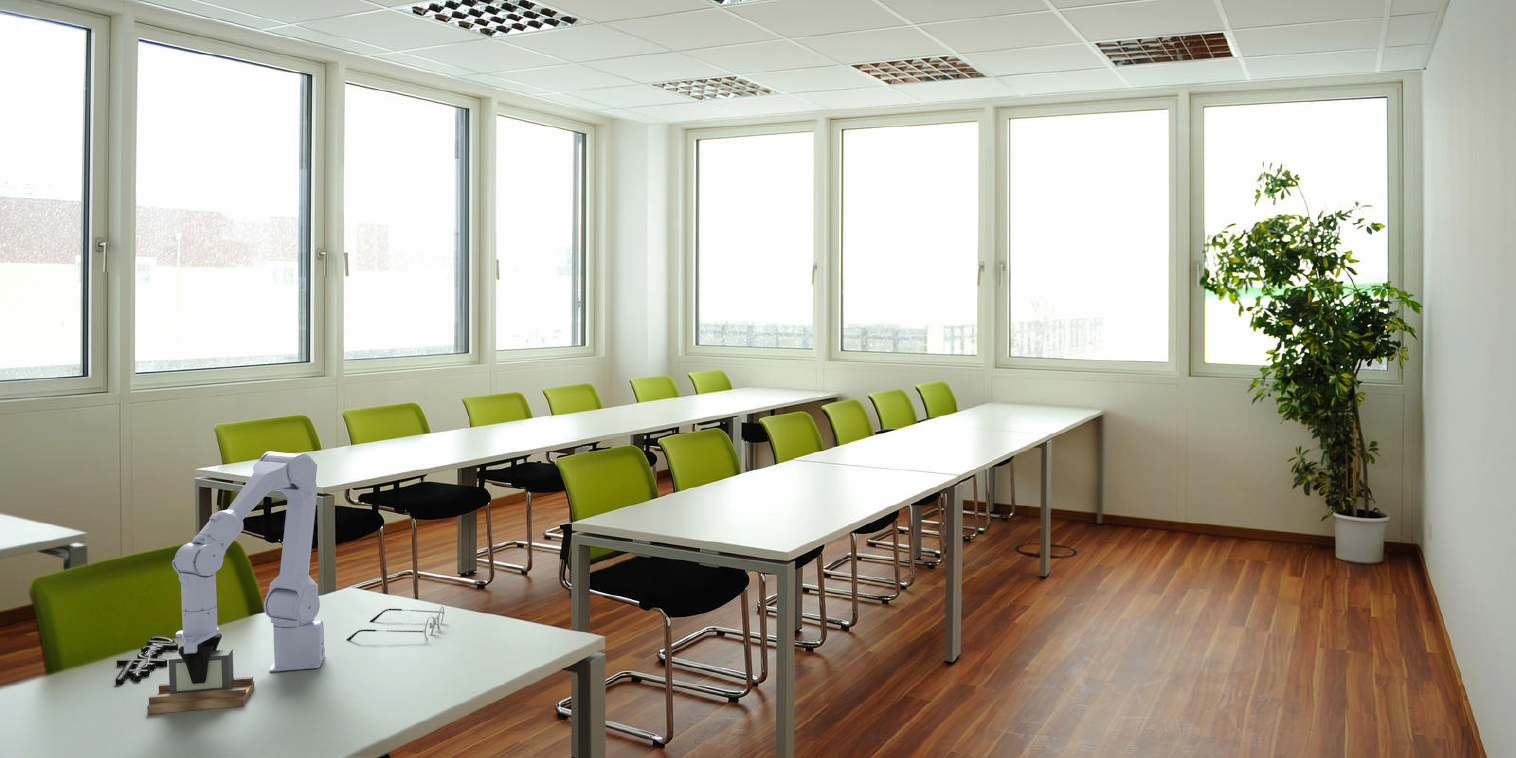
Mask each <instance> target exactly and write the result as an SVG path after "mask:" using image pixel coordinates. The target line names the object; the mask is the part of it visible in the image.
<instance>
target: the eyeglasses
mask: <svg viewBox="0 0 1516 758" xmlns="http://www.w3.org/2000/svg"><path fill="white" fill-rule="evenodd" d="M389 611H399V612H400V611H404V609H402V608H387V609H384V610H382V611H381V612H380V613H379V614H377V615H375V616H374V617H373V618H372V619H371V620H369V623H374V622H375V621H376V620H377V619H378V618H380V616H382V615H383V614H384V613H385V612H389ZM405 611H409V612H418V613H420V612H421V613H422V612H423V613H436V614H438V615H437V616H436V617H433V616H429V617H428V619H427V620H426V623H425V626H424V629H422V630H413V629H412V630H407V629H406V630H401V629H395V630H393V629H391V630H390V629H387V630H385V632H387V633H388V632H389V633H391V632H392V633H424V637H425V639H428V637H427V635H426V634H427V626H428V623H429V621H430V619H432V620H433V621H432V622H430V623H429V629H431V631H430V634H429V636H430V637H431V636H433V633H434V630H435V627H436V626H437V629H440V626H442V624H443V621H444V615H445V608H444V606H443V605H442V606H441V607H440V608H439V610H424V609H423V610H421V609H420V610H419V609H405ZM440 614H442V617H441V621H440V616H441V615H440ZM373 621H374V622H373ZM435 625H436V626H435ZM362 632H374V633H375V632H384V630H378V629H359V630H357V631H356V632H354V633H353V634H352V635H349V637H348V638H346V641H351V640H352V639H353V638H354V637H355V636H356V635H357V634H359V633H362Z"/></svg>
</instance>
